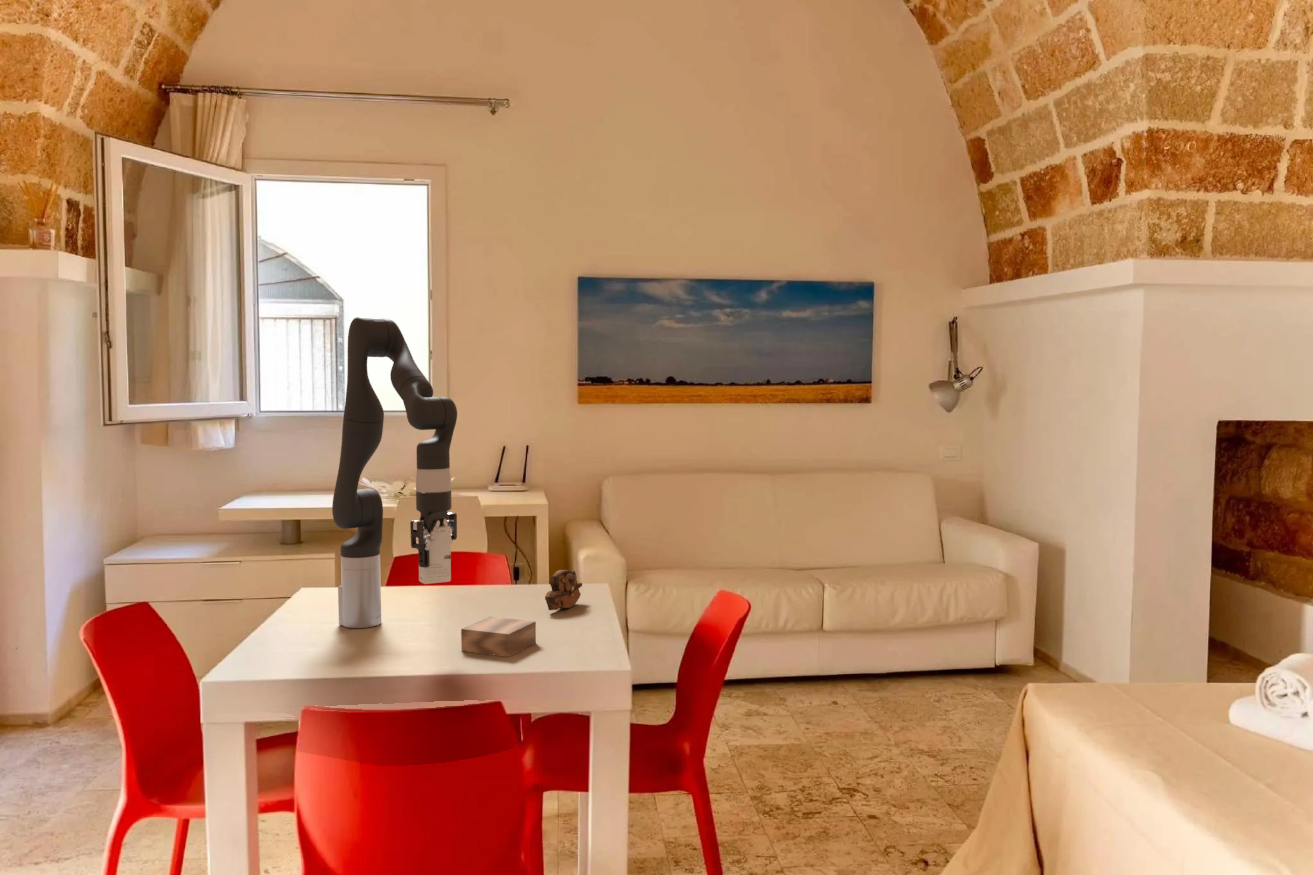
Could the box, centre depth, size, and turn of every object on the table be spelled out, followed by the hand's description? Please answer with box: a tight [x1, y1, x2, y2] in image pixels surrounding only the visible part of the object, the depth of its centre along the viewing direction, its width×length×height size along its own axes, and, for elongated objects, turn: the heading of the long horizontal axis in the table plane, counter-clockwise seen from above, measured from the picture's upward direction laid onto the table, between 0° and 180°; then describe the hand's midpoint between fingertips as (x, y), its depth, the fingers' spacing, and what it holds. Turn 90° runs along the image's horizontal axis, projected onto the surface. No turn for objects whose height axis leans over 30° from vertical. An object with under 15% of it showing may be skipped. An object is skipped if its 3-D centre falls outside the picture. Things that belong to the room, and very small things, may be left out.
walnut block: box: [460, 616, 537, 657], centre depth 225 cm, size 12×12×5 cm
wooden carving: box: [544, 569, 583, 611], centre depth 262 cm, size 16×5×10 cm, turn 161°
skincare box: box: [418, 526, 452, 585], centre depth 219 cm, size 6×4×12 cm
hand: (434, 563), depth 219 cm, fingers closed on skincare box, 7 cm apart
